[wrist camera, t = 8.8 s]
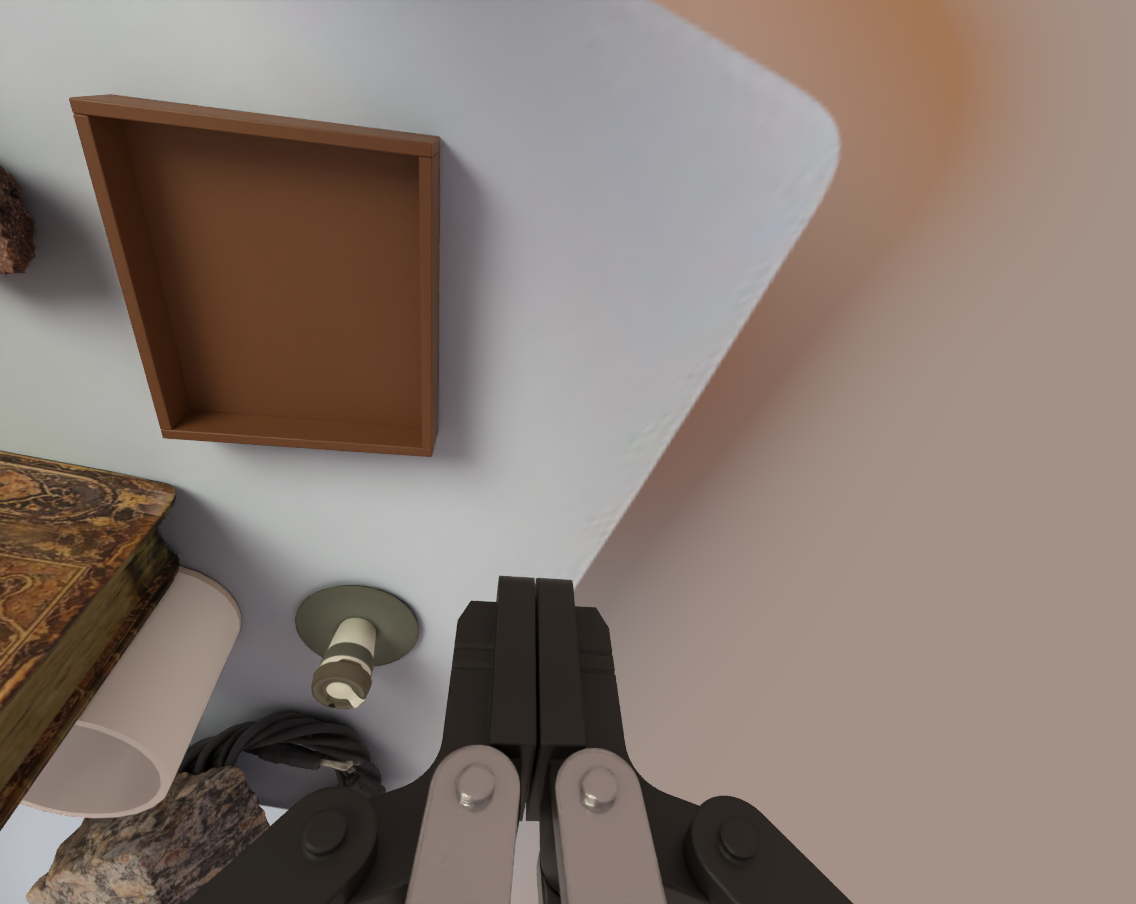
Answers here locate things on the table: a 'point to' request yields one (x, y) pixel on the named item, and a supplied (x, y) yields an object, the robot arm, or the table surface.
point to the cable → (291, 749)
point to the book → (68, 598)
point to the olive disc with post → (353, 639)
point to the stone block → (157, 845)
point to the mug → (144, 708)
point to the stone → (14, 227)
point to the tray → (274, 271)
